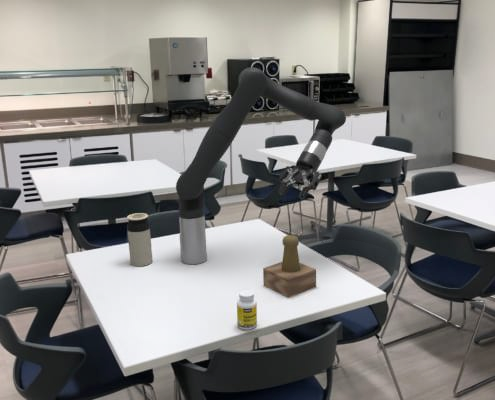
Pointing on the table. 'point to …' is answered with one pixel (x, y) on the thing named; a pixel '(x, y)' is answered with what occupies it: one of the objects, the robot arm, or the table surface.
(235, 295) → the table surface
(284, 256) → the cork
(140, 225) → the travel mug
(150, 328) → the table surface
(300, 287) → the walnut riser
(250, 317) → the supplement bottle
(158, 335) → the table surface
